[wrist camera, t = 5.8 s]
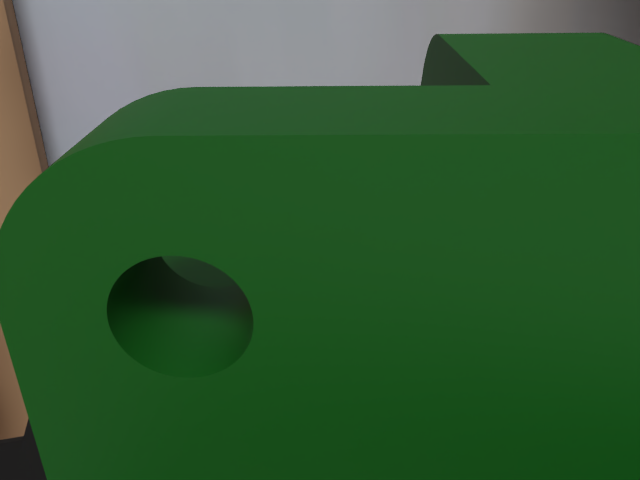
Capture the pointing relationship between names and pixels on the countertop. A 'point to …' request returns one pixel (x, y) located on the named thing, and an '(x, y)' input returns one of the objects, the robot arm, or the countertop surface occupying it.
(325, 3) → the countertop surface
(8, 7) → the brown shallow square tray
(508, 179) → the clamp
